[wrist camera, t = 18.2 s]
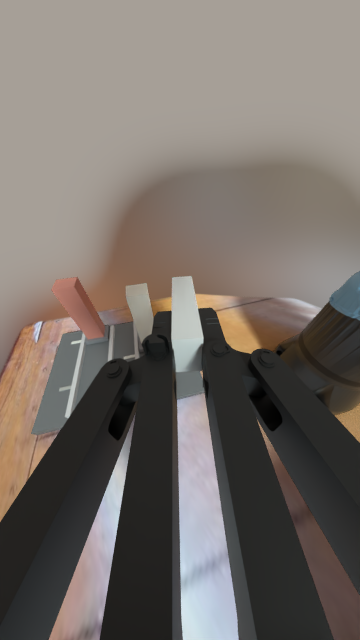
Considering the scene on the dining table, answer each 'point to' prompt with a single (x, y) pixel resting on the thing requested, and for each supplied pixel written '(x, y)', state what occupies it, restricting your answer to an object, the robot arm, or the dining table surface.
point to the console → (93, 373)
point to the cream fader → (140, 310)
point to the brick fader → (81, 309)
